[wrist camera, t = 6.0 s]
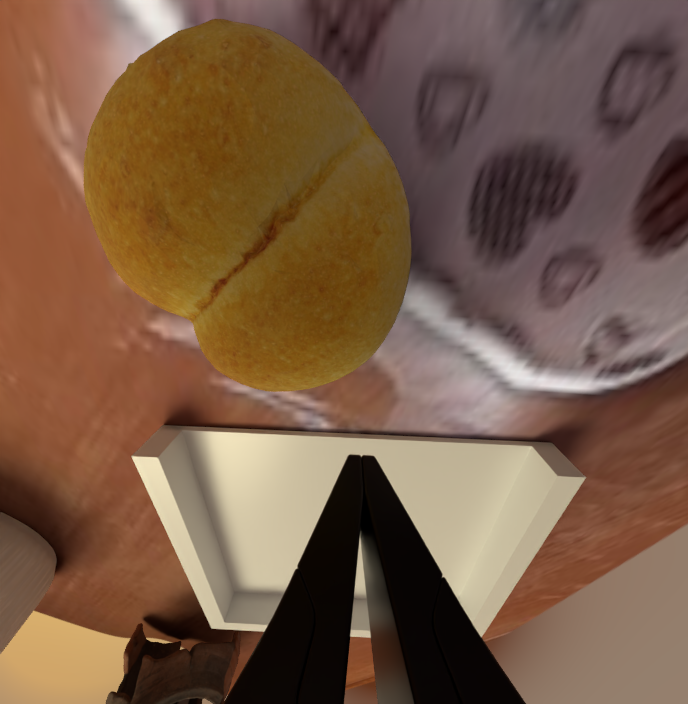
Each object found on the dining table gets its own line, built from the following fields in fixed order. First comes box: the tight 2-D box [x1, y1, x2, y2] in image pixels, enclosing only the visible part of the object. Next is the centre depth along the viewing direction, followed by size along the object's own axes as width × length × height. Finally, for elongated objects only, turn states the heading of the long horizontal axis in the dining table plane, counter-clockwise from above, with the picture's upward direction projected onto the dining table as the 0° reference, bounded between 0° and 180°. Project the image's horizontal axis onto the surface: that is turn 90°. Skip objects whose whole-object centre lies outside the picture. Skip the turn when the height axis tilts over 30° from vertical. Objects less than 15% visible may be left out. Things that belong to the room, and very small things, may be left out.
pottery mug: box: [106, 623, 240, 704], centre depth 21 cm, size 12×9×8 cm
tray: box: [131, 425, 586, 638], centre depth 15 cm, size 20×18×2 cm
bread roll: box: [84, 19, 411, 392], centre depth 7 cm, size 8×9×4 cm
